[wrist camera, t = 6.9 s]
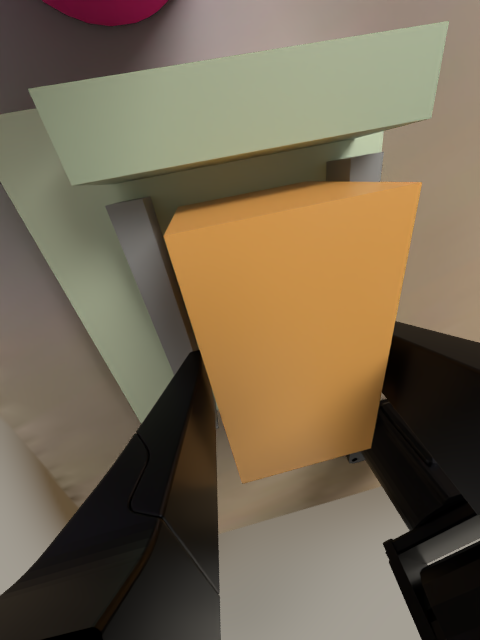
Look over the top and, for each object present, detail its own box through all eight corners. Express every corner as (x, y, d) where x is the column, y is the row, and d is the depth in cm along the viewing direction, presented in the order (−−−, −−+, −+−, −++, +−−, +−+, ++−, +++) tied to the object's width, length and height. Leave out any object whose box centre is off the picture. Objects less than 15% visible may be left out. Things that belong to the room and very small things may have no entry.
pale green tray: (342, 358, 15) (395, 418, 11) (148, 406, 14) (132, 489, 10) (362, 68, 8) (505, -26, 5) (2, 130, 8) (-190, 78, 4)
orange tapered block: (310, 374, 13) (367, 466, 9) (229, 394, 13) (247, 500, 9) (305, 181, 9) (421, 182, 4) (177, 206, 8) (163, 236, 4)
